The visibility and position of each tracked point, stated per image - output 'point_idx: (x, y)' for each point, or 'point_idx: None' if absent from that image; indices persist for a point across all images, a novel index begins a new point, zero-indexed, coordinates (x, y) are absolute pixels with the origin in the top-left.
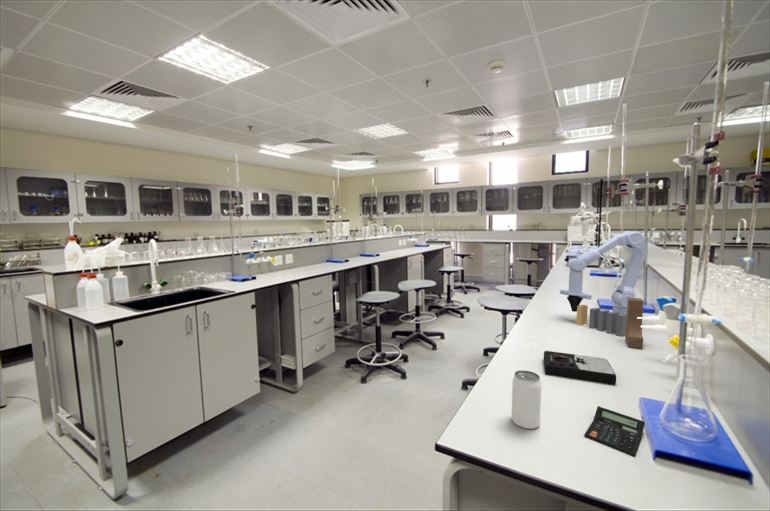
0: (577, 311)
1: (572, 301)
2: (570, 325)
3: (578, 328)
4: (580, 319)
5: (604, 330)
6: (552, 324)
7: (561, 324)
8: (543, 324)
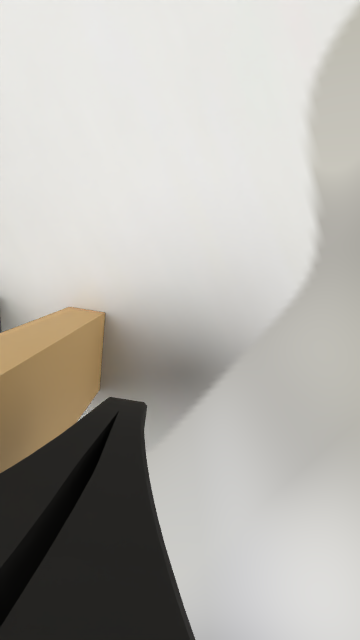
0: (18, 358)
1: (44, 589)
2: (118, 240)
3: (31, 205)
4: (38, 319)
5: None
6: (242, 119)
7: (183, 201)
8: (313, 20)
